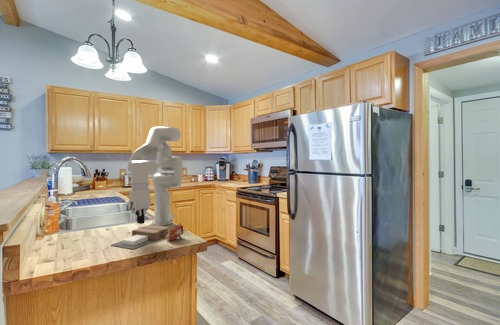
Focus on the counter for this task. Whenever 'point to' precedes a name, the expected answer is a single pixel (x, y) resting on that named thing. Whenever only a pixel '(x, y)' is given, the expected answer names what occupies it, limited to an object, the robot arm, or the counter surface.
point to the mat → (130, 245)
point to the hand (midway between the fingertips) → (140, 223)
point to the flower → (175, 232)
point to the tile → (135, 240)
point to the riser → (152, 232)
